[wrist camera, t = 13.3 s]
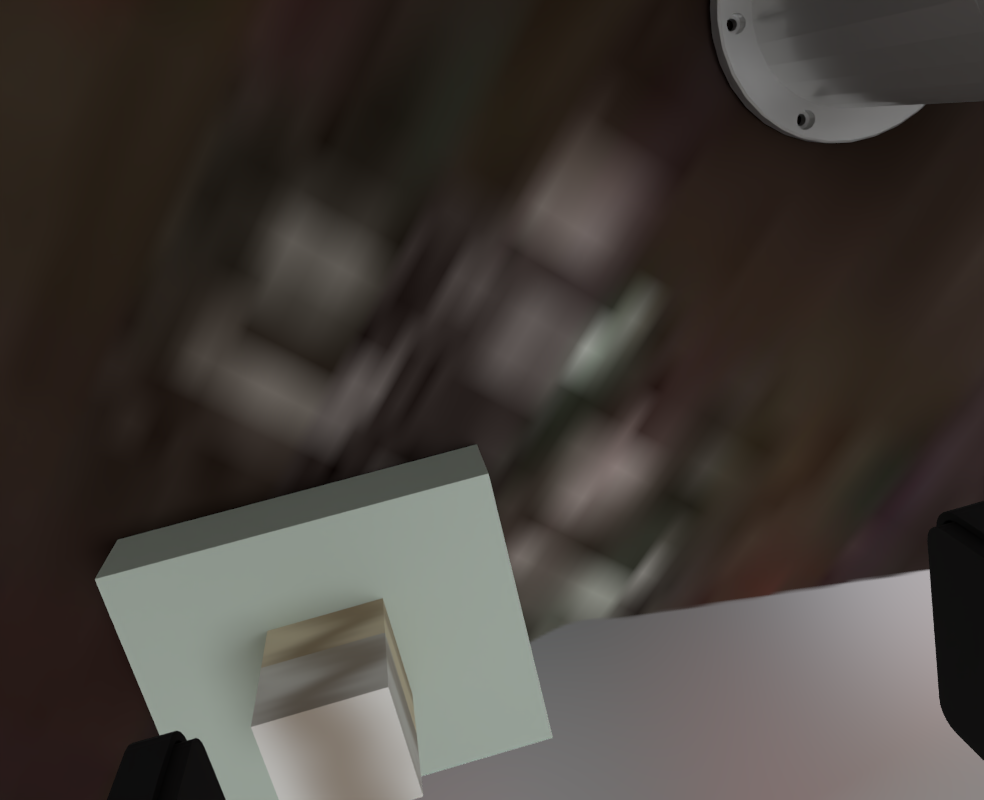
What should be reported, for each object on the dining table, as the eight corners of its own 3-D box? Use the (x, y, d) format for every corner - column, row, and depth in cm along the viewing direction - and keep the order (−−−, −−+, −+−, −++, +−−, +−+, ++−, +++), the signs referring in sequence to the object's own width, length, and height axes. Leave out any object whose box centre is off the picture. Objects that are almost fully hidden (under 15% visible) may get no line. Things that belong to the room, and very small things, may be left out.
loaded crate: (382, 598, 41) (388, 687, 35) (412, 694, 43) (423, 796, 36) (267, 630, 41) (250, 727, 34) (301, 726, 43) (292, 835, 36)
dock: (476, 444, 44) (488, 473, 40) (537, 690, 49) (553, 737, 45) (117, 539, 43) (94, 579, 39) (215, 783, 47) (203, 840, 44)
